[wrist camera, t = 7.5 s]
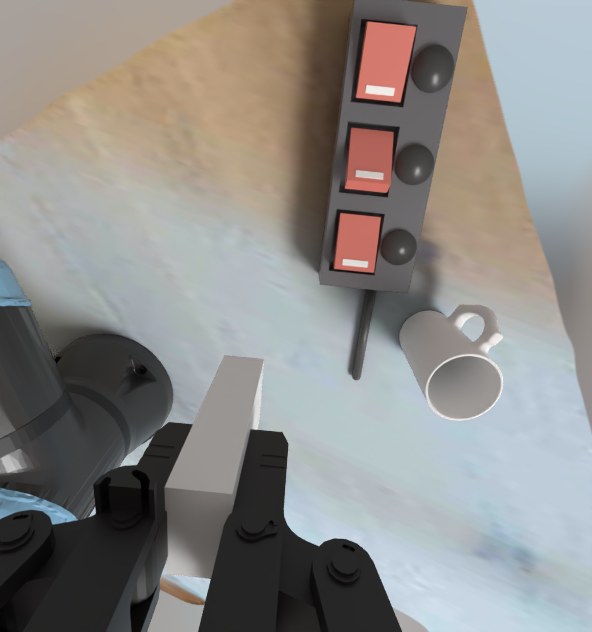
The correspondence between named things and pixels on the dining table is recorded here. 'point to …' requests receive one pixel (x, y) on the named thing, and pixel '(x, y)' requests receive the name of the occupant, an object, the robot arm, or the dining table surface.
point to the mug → (453, 361)
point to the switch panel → (408, 146)
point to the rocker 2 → (369, 160)
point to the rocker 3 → (356, 242)
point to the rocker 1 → (384, 61)
